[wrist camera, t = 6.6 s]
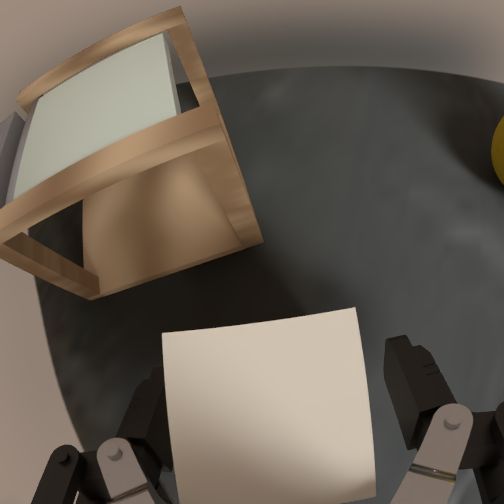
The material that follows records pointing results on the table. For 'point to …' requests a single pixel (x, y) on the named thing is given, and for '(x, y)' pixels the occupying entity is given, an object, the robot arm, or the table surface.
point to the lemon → (498, 150)
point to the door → (87, 115)
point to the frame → (139, 187)
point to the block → (270, 412)
